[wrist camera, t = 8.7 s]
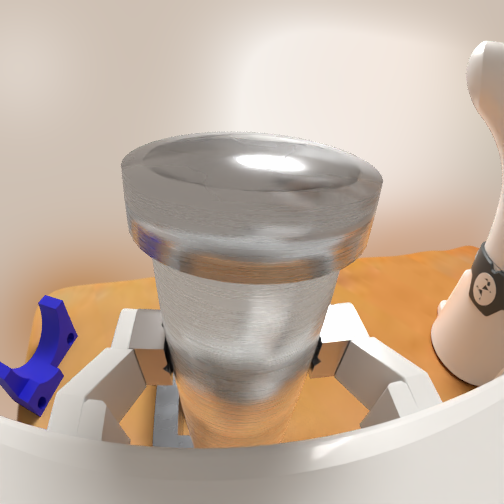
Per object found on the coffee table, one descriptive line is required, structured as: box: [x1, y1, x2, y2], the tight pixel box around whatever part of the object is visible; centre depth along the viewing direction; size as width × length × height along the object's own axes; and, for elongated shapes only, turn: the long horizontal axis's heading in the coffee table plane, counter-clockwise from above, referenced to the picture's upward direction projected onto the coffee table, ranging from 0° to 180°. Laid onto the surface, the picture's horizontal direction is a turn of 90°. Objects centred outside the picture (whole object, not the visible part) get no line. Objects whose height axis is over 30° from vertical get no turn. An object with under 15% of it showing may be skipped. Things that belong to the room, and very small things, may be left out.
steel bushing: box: [121, 132, 383, 448], centre depth 9 cm, size 5×5×13 cm
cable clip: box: [0, 295, 78, 417], centre depth 25 cm, size 12×4×6 cm, turn 172°
